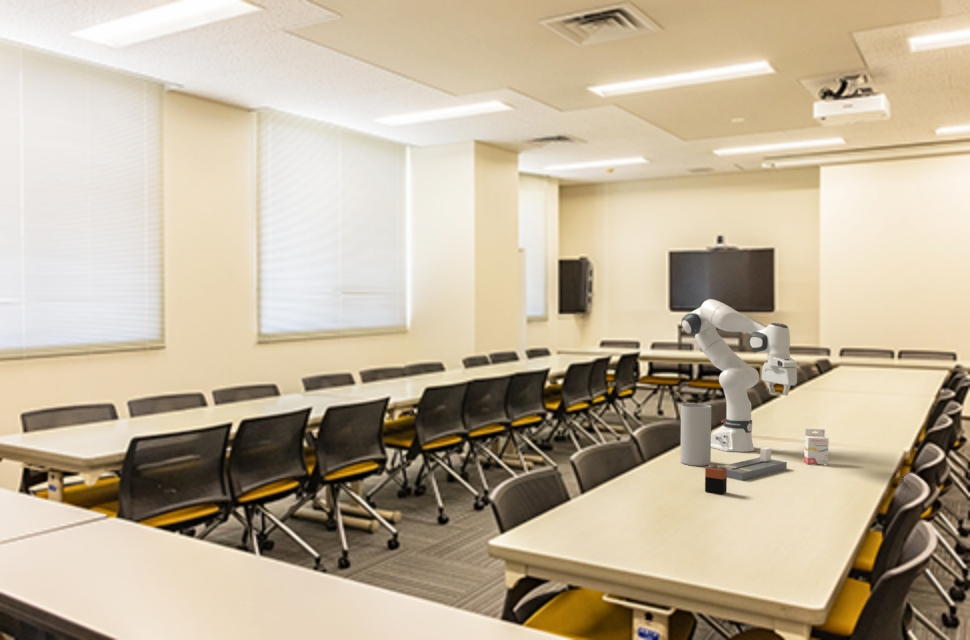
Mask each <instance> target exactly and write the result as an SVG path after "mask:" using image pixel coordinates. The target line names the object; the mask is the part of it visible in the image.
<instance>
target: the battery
mask: <svg viewBox="0 0 970 640" xmlns="http://www.w3.org/2000/svg"><path fill="white" fill-rule="evenodd" d="M723 467H724V465H721V464H720V465H717V466H714V464H709V465H707V466H705V467H704V468H705V469H704V471H705V472H704V480H705V481H704V492H706V493H709V494H716V495H724V494H726V493H727V486H728V485H727V483H728V480H727V479H728V477H727V468H723Z"/></svg>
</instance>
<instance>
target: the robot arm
mask: <svg viewBox="0 0 970 640" xmlns="http://www.w3.org/2000/svg"><path fill="white" fill-rule="evenodd" d="M681 327H682V329H683V331H684V332H685V333H686V334H687V335H688V336H694V339H695V340H696V343H697V344H698V346H699V348H700V349H701V351H702V352H703V354H704V355H705V357H707V359H708V360H709V361H710V363H711V364H712V365H713V366H714V367H715V368H717V369H719V370H720V371H721V372H720V374H719V377H718V382H719V386H721V388H722V389H723V393H724V396H725V402H726V403H725V405H726V418H724V419H721V423H723V425H722V426H721V427H718V428H717V429H716V430H715V431H714V432H711V449H715V450H720V451H724V452H736V453H737V452H739V453H741V452H742V453H745V452H753V451H755V447H754V446H755V445H754V444H753V443H754V442H753V435H752V431H753V420H752V402H751V400H750V399H749V397H748V396H749V395H748V392H747V390H749V389H751V388H754V386H756V385H757V384H758V383H759V381H760V374H759V372H758V370H757V369H756V368H755V367H752V366H751V365H749V364H748V363H747V362H745V361H744V360H743V359H742V358H741V357H740V356H738V354H736V353H735V352H734V351H733V350H732V349H731V348H730V346H729V345H728V343H726V341H725V340H724V338H722V336H721V335H720V334H719V333H718V331H717V329H719V330H721V331H723V332H724V331H725V332H728V333H729V332H732V333H743V334H744V333H745V334H749V337H748V343H747V344H748V346H749V348H750V350H751V351H753V353H757V354H759V353H760V354H761V353H764V354H765V353H766V354H767V360H765V361H764V363H763V366H762V372H761V379H762V382H766V383H767V388H768V389H769V393H770V394H775V393H776V388H775V387H774V384H778V385H783V390H782V394H781V395H782V396H785V397H787V396H788V395H789V391H790V389H791V386H796V385H797V384H798V369H797V367H798V361H796V360H794V359H793V358H792V357H791V353H790V346H791V336H790V335H791V334H790V329H789V326H788V325H786V324H784V323H779V322H772V323H769V324H768V325H765V324H762V323H760V322H759V321H756V320H755V319H752V318H750V317H748V316H746V315H745V314H743V313H742V312H739V311H737V310H735V309H734V308H733V307H731V306H729V305H727V304H725V303H724V302H721V301H719V300H717V299H713V298H709V299H706V300H704V302H703V303H702V304H701V305H700V306H699V307H697V308H696V309H694V310H692V311H690V312H689V313H687V314H686V315H684V316H683V317H682V318H681Z"/></svg>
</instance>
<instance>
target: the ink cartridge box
mask: <svg viewBox="0 0 970 640" xmlns="http://www.w3.org/2000/svg"><path fill="white" fill-rule="evenodd" d="M804 432H805V434H804V448H803V449H804V453H803V455H804V457H803V462H804V463H805V462H806V463H807V464H806V463H805V464H806V465H810V464H828V465H829V437H827V436H825V434H826V433H825V432H826V431H825V429H822V428H806V429H805V431H804Z"/></svg>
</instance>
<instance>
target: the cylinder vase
mask: <svg viewBox="0 0 970 640" xmlns="http://www.w3.org/2000/svg"><path fill="white" fill-rule="evenodd" d="M680 405H681V406H680V463H682V464H684V465H687V466H691V467H692V466H693V467H694V466H695V467H704V466H705V467H707V466H709V465H711V463H712V462H711V461H712V460H711V458H712V457H711V455H712V453H711V450H712V447H711V435H712V405H710V404H706V403H689V402H688V403H682V404H680Z"/></svg>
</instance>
